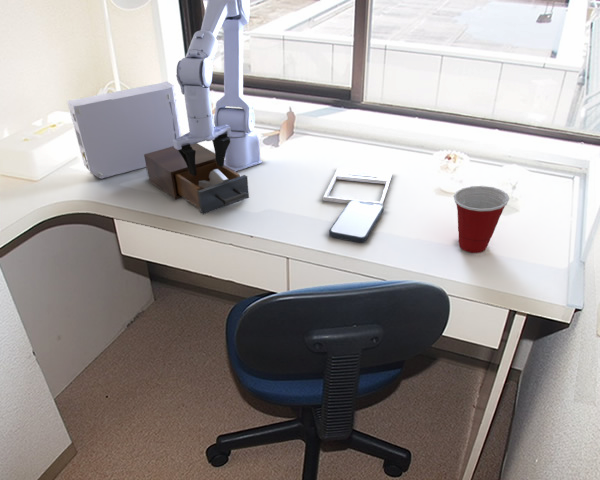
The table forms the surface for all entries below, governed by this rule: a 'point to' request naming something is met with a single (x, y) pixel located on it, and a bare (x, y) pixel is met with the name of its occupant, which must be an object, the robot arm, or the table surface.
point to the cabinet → (173, 166)
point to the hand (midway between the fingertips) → (206, 169)
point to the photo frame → (362, 177)
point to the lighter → (213, 179)
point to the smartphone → (356, 221)
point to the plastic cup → (478, 215)
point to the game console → (124, 127)
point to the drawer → (211, 188)
